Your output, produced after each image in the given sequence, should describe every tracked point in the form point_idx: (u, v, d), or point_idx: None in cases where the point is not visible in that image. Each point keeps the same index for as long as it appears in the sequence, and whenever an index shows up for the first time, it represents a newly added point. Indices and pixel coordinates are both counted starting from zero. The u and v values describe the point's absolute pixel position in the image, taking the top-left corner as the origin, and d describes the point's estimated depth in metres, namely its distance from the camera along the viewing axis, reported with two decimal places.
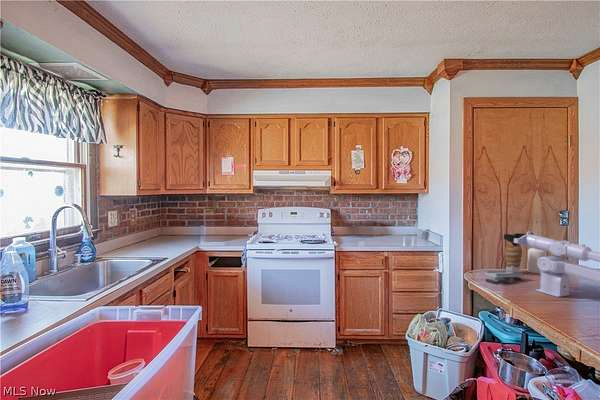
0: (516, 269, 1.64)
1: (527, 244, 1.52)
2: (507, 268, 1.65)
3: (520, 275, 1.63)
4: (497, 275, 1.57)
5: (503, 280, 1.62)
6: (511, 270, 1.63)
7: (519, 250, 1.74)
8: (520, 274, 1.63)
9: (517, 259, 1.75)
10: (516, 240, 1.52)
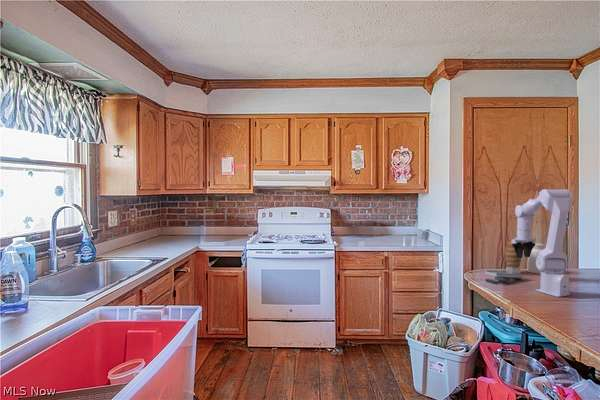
0: (516, 270, 1.64)
1: (523, 237, 1.65)
2: (507, 268, 1.65)
3: (520, 276, 1.63)
4: (497, 274, 1.57)
5: (503, 280, 1.62)
6: (511, 270, 1.63)
7: None
8: (520, 275, 1.63)
9: (517, 259, 1.75)
10: (512, 240, 1.65)
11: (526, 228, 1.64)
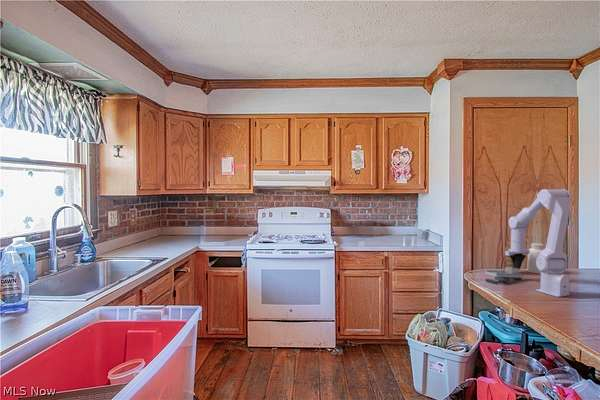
0: (515, 269, 1.64)
1: (516, 248, 1.64)
2: (507, 268, 1.65)
3: (520, 276, 1.63)
4: (497, 274, 1.57)
5: (503, 280, 1.62)
6: (510, 270, 1.63)
7: None
8: (520, 275, 1.63)
9: None
10: (506, 252, 1.64)
11: (521, 240, 1.63)
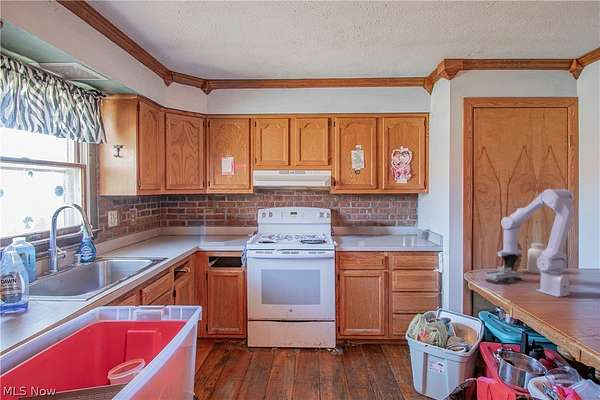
0: (507, 269, 1.62)
1: (509, 249, 1.62)
2: (499, 268, 1.63)
3: (520, 274, 1.63)
4: (497, 276, 1.57)
5: (503, 280, 1.62)
6: (503, 270, 1.61)
7: None
8: (520, 273, 1.63)
9: (517, 259, 1.75)
10: (498, 253, 1.62)
11: (515, 240, 1.61)
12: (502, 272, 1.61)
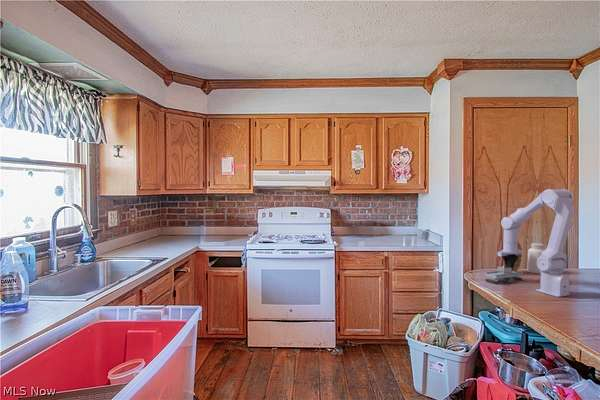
0: (507, 269, 1.62)
1: (509, 249, 1.62)
2: (499, 268, 1.63)
3: (520, 274, 1.63)
4: (497, 276, 1.57)
5: (503, 280, 1.62)
6: (503, 270, 1.61)
7: None
8: (520, 273, 1.63)
9: (517, 259, 1.75)
10: (498, 253, 1.62)
11: (515, 240, 1.61)
12: (502, 272, 1.61)
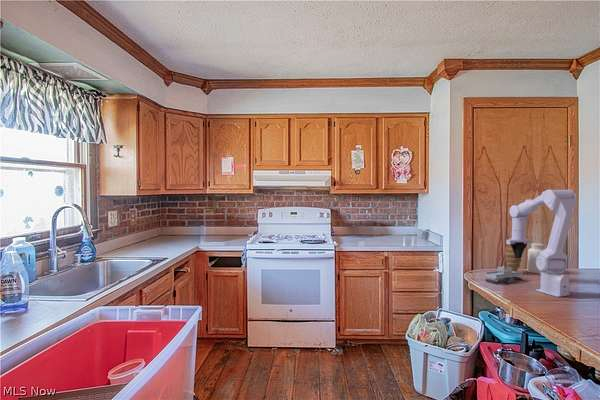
0: (507, 269, 1.62)
1: (518, 237, 1.64)
2: (499, 268, 1.63)
3: (520, 274, 1.63)
4: (497, 276, 1.57)
5: (503, 280, 1.62)
6: (503, 270, 1.61)
7: None
8: (520, 273, 1.63)
9: (517, 259, 1.75)
10: (507, 241, 1.63)
11: (522, 228, 1.63)
12: (502, 272, 1.61)
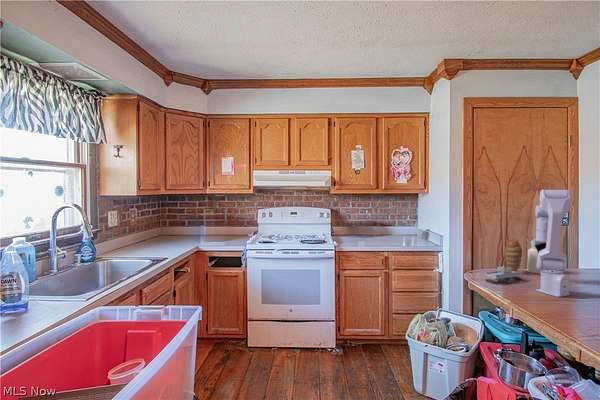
0: (507, 269, 1.62)
1: (542, 238, 1.61)
2: (499, 268, 1.63)
3: (520, 274, 1.63)
4: (497, 276, 1.57)
5: (503, 280, 1.62)
6: (503, 270, 1.61)
7: (519, 250, 1.74)
8: (520, 273, 1.63)
9: (517, 259, 1.75)
10: (532, 242, 1.61)
11: (543, 229, 1.61)
12: (502, 272, 1.61)
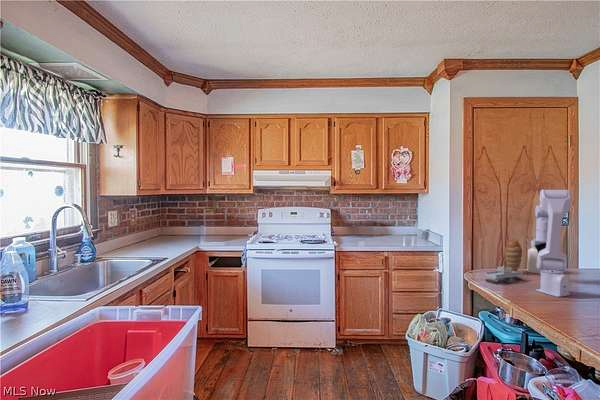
0: (507, 269, 1.62)
1: (542, 238, 1.61)
2: (499, 268, 1.63)
3: (520, 274, 1.63)
4: (497, 276, 1.57)
5: (503, 280, 1.62)
6: (503, 270, 1.61)
7: (519, 250, 1.74)
8: (520, 273, 1.63)
9: (517, 259, 1.75)
10: (532, 242, 1.61)
11: (543, 229, 1.61)
12: (502, 272, 1.61)
